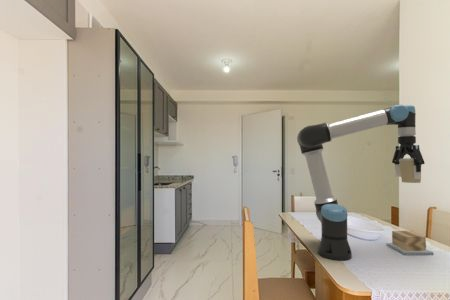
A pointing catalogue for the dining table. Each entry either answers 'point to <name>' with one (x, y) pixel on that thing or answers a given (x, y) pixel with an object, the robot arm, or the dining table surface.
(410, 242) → the oak block
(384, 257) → the dining table surface
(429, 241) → the dining table surface
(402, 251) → the grey flat square slab
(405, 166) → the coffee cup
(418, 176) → the robot arm
